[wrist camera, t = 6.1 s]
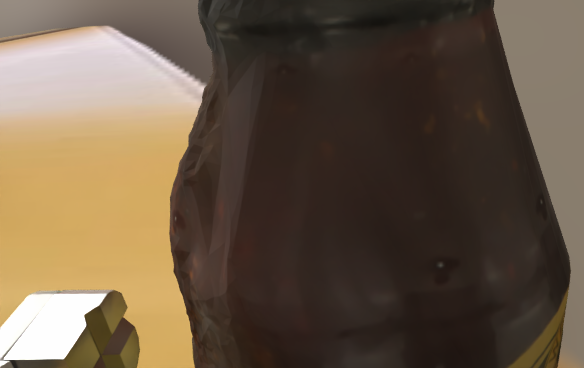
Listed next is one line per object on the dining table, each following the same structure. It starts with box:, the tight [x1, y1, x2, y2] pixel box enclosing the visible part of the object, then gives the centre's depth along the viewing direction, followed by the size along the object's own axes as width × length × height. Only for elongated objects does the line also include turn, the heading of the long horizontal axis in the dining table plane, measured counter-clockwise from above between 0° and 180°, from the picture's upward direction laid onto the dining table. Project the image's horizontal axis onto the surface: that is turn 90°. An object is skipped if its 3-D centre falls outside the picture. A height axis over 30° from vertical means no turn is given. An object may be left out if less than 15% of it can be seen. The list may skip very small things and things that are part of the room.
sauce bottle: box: [170, 0, 571, 368], centre depth 9 cm, size 7×6×20 cm
